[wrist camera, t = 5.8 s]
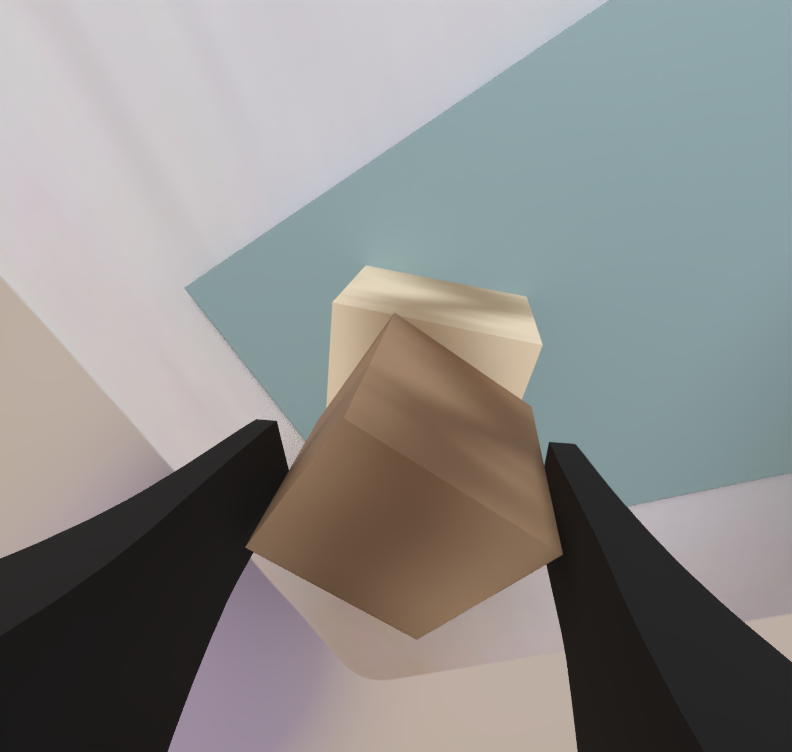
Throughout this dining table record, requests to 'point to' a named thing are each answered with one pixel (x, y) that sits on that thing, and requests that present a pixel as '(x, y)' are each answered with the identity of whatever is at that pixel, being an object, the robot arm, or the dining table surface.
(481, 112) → the mat
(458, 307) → the maple block
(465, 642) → the dining table surface
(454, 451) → the walnut cube
